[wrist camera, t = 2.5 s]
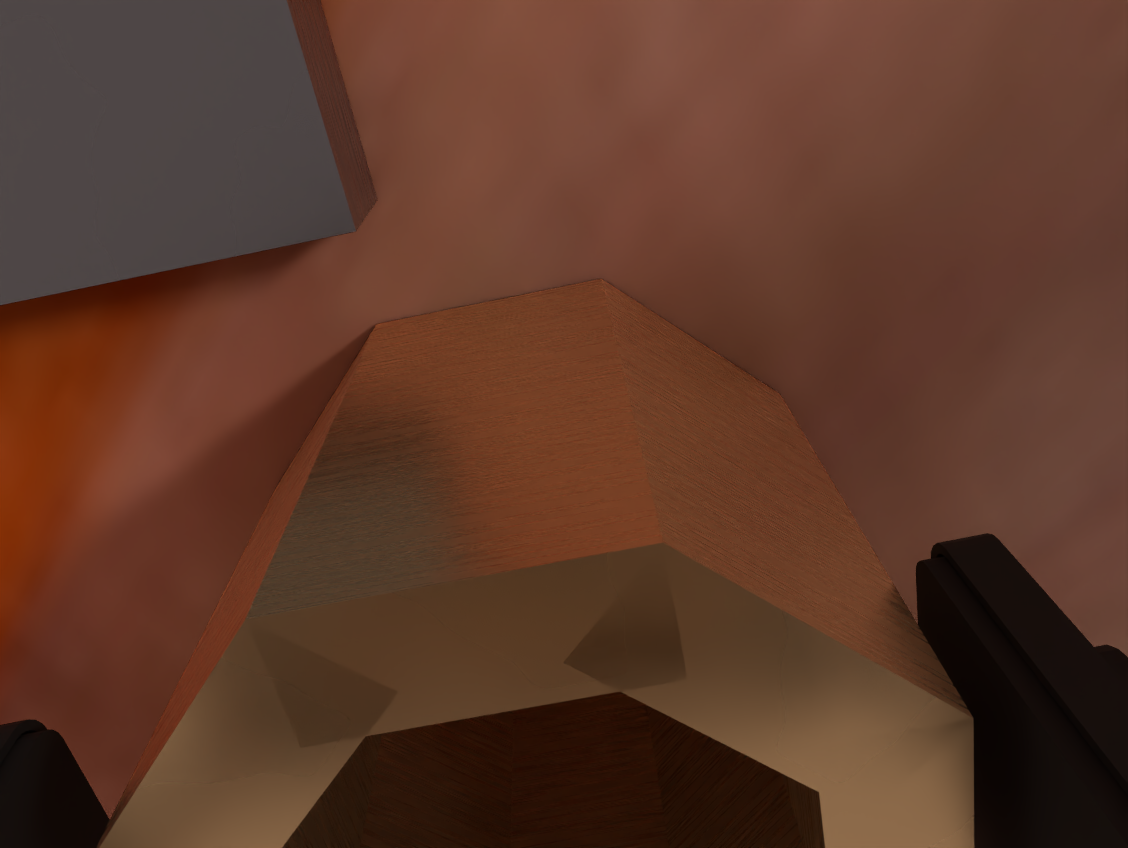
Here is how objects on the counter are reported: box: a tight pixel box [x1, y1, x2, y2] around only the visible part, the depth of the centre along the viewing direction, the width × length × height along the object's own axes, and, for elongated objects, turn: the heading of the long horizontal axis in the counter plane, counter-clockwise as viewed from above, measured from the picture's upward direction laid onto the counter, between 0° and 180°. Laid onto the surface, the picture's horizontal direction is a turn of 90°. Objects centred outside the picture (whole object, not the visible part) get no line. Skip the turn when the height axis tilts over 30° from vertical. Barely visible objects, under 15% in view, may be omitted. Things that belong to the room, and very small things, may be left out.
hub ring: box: [96, 279, 974, 848], centre depth 10 cm, size 7×7×6 cm
